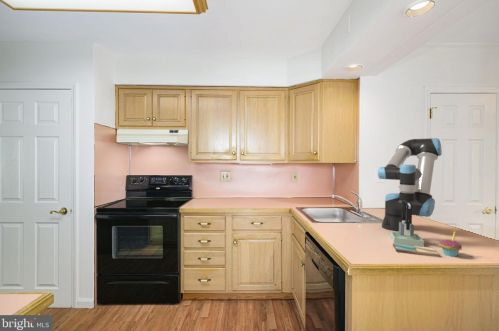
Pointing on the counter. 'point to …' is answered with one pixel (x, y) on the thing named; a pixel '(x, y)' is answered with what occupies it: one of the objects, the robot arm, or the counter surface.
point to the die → (402, 228)
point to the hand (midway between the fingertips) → (405, 233)
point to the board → (416, 250)
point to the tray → (406, 239)
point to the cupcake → (450, 247)
